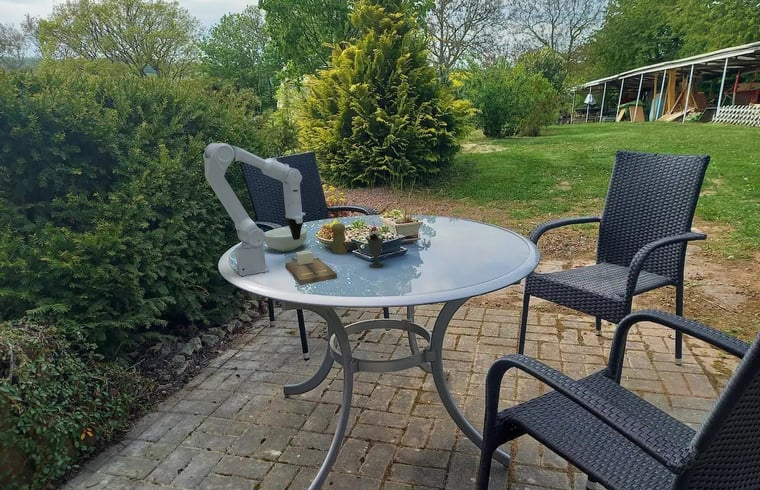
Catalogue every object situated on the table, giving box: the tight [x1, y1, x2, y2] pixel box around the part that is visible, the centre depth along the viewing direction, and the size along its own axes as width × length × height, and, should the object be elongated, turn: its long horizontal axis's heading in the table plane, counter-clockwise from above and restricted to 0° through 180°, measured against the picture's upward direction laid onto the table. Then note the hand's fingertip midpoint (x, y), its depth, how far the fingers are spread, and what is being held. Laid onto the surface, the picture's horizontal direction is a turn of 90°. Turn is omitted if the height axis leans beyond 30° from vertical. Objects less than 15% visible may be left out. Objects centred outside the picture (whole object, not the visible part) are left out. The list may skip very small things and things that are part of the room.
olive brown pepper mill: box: [331, 223, 348, 255], centre depth 171 cm, size 6×6×11 cm
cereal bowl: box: [264, 227, 308, 252], centre depth 179 cm, size 17×17×7 cm
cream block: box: [295, 249, 314, 265], centre depth 154 cm, size 5×3×4 cm, turn 115°
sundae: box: [364, 221, 386, 269], centre depth 152 cm, size 7×7×15 cm
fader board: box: [284, 257, 338, 286], centre depth 150 cm, size 12×20×2 cm, turn 25°
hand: (296, 239), depth 161 cm, fingers closed
